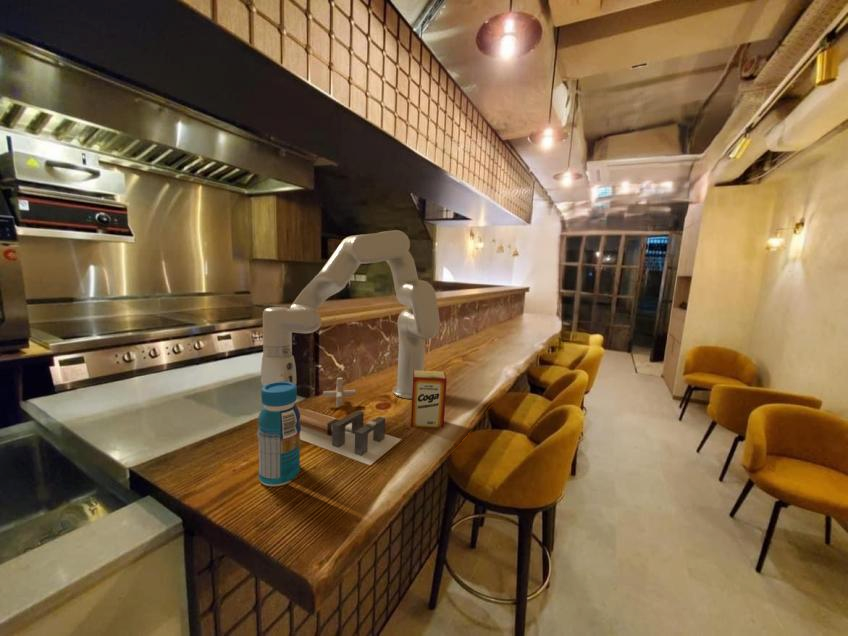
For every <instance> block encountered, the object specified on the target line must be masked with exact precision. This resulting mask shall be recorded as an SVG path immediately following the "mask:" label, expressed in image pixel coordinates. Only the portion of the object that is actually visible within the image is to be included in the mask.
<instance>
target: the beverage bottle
mask: <svg viewBox="0 0 848 636" xmlns="http://www.w3.org/2000/svg"><path fill="white" fill-rule="evenodd" d="M297 390H298V389H297V384H296V385H295V384H293V383H290V382H275V383H270V384H267V385H265V386H262V387H261V390H260V391H261V393H260V394H261V395H260V397H261V403H262V405H263V407H262V409H261V410H260V412H259V415H258V417H257V424H258V425H259V426H258V428H257V433H256V435H257V439H258V480H259V482H260V483H261V484H262V485H264V486H267V487H281V486H285V485H287V484H290V483H291V482H292V479H294V478H295V477H296V476H297V475H298V474H299V473H300V471H301V464H300V463H301V462H300V457H301V455H300V453H301V440H300V432H301V424H300V422H299V419H300V412H299V410H298V408H297V407H298V406H297V405H296V404H295V403H296V402H297V397H298V396H297V395H298V393H297V392H298V391H297Z"/></svg>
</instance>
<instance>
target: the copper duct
mask: <svg viewBox="0 0 848 636" xmlns="http://www.w3.org/2000/svg"><path fill="white" fill-rule="evenodd" d="M297 408H298V410H299V412H300V419H299V422H300V424H301V426H303V427H306V428H309V429H312V430H315V431H318V432H321V433H324V434H326V435H329V436H332V426H333V424H334V423H336V422H337V421H339V420H340V419H339V420H338V418H336V419H334V418H335V417H332V416H329V417H328V415H326V416H325V414H323V415H322V413H320V412H316V411H313V410H310V409H307V408H306V409H307V410H306V409H305V408H302V407H299V406H297ZM309 410H310V411H309ZM312 411H313V412H312ZM315 412H316V413H315ZM319 413H320V414H319ZM331 417H332V418H331Z"/></svg>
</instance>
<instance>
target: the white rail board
mask: <svg viewBox="0 0 848 636" xmlns="http://www.w3.org/2000/svg"><path fill="white" fill-rule="evenodd" d="M306 410H309V411H312V412H315V413H317V412H316V411H314V410H310V409H307V408H306ZM318 413H319V414H322V413H320V412H318ZM322 415H325V414H322ZM325 416H328V415H325ZM328 417H331V418H334V419H338V418H335V417H332V416H328ZM338 420H340V419H338ZM401 440H402V438H398V437H397V436H392V435H390V434H386V433H385V438H384V439H383V440H382V441H380V442H377V441H374V440H373V431H371V432H370V433H368V449H367V452H366V453H365V454H363V455H362V456H360V455H357V454H355V434H353V433H352V423H350V424H348V425H347V426H345V444H343V445H342V446H340V447H339V448H338V447H335V446H332V436H329V435H326V434H324V433H321V432H318V431H315V430H312V429H309V428H306V427H303V426H301V432H300V441H304V442H306V443H309V444H312V445H314V446H316V447H320V448H321V449H325V450H327V451H330V452H333V453H336V454H338V455H341V456H344V457H347V458H348V459H352V460H353V461H354V460H355V461H357V462H360V463H363V464H365V465H368V466H371V465H372V464H374V463H375V462H376V461H377V460H379V459H380V458H381V457H382V456H384V454H386V453H387V452H389V451H390V450H391V449H392V448H393V447H394V446H395V445H397V444H398V443H400V442H401Z"/></svg>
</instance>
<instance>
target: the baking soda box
mask: <svg viewBox="0 0 848 636" xmlns="http://www.w3.org/2000/svg"><path fill="white" fill-rule="evenodd" d="M447 381H448V380H447V375H446V372H445V371H440V370H439V371H438V370H423V371H418V370H413V386H412V399H411V405H410V406H411V407H410V408H411V411H410V427H418V428H419V427H421V428H443V429H444V427H445V426H444V423H445V411H446V409H445V408H446V398H447V397H446V396H447V395H446V394H447V383H448V382H447Z"/></svg>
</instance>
